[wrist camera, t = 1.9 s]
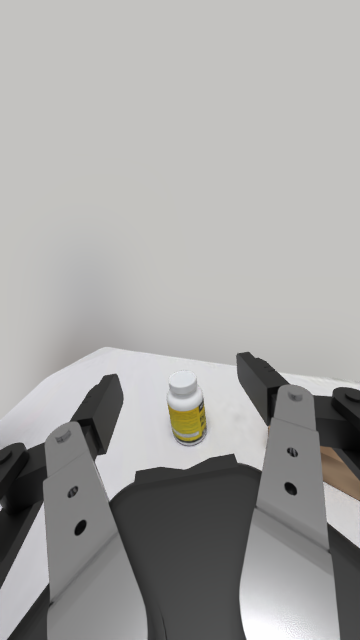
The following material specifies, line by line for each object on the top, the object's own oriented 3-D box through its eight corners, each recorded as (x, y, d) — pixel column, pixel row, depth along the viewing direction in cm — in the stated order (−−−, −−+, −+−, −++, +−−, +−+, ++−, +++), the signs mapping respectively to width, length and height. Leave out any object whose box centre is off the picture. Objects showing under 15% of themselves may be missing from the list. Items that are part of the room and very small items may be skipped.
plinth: (268, 450, 23) (268, 427, 22) (283, 406, 29) (284, 386, 28) (366, 504, 17) (373, 477, 16) (360, 434, 23) (365, 411, 22)
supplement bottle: (209, 445, 25) (202, 388, 22) (172, 448, 25) (160, 393, 22) (204, 414, 30) (198, 365, 27) (174, 417, 30) (164, 369, 27)
